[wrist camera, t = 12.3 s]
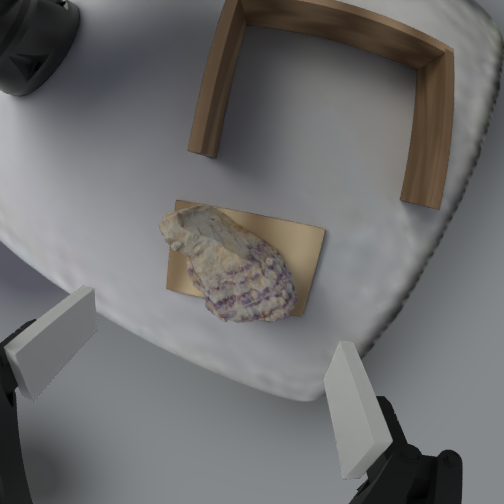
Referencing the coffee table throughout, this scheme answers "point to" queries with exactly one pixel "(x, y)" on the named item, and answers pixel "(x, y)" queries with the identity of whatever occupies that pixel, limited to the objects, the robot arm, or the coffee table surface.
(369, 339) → the coffee table surface
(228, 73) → the brown open u-shaped frame
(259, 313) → the mineral specimen
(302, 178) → the coffee table surface
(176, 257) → the mat
